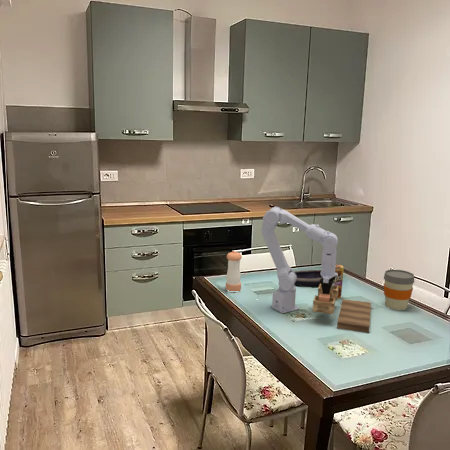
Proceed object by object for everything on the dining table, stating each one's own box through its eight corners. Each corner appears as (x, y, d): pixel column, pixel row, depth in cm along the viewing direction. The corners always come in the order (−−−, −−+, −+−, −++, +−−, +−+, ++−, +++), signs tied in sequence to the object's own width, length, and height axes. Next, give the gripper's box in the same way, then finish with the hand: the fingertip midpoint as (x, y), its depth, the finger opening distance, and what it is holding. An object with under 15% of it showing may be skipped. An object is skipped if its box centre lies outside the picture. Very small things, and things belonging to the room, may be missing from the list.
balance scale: (333, 314, 183) (334, 297, 181) (312, 311, 185) (313, 294, 184) (337, 295, 203) (339, 280, 202) (319, 293, 206) (320, 278, 204)
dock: (368, 332, 178) (369, 326, 177) (336, 328, 181) (337, 322, 181) (370, 308, 202) (370, 302, 201) (342, 304, 206) (342, 299, 205)
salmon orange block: (328, 305, 184) (329, 298, 184) (318, 303, 185) (318, 296, 185) (329, 301, 188) (330, 294, 187) (319, 300, 189) (320, 293, 188)
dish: (280, 278, 239) (280, 269, 238) (336, 276, 245) (336, 267, 244) (289, 289, 224) (290, 279, 223) (349, 286, 230) (349, 276, 229)
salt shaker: (239, 293, 217) (240, 253, 213) (224, 291, 218) (225, 252, 214) (242, 287, 224) (243, 249, 220) (227, 286, 225) (228, 248, 221)
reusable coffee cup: (378, 308, 202) (381, 275, 199) (383, 298, 213) (386, 267, 210) (409, 314, 197) (413, 280, 193) (412, 304, 207) (416, 272, 204)
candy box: (322, 299, 211) (325, 267, 208) (319, 296, 215) (321, 264, 212) (341, 298, 212) (344, 266, 209) (338, 295, 216) (340, 264, 213)
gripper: (337, 268, 183) (334, 301, 186) (340, 259, 196) (337, 289, 199) (318, 266, 185) (316, 299, 188) (323, 257, 198) (321, 287, 201)
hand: (326, 294), depth 193 cm, fingers closed on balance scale, 4 cm apart
